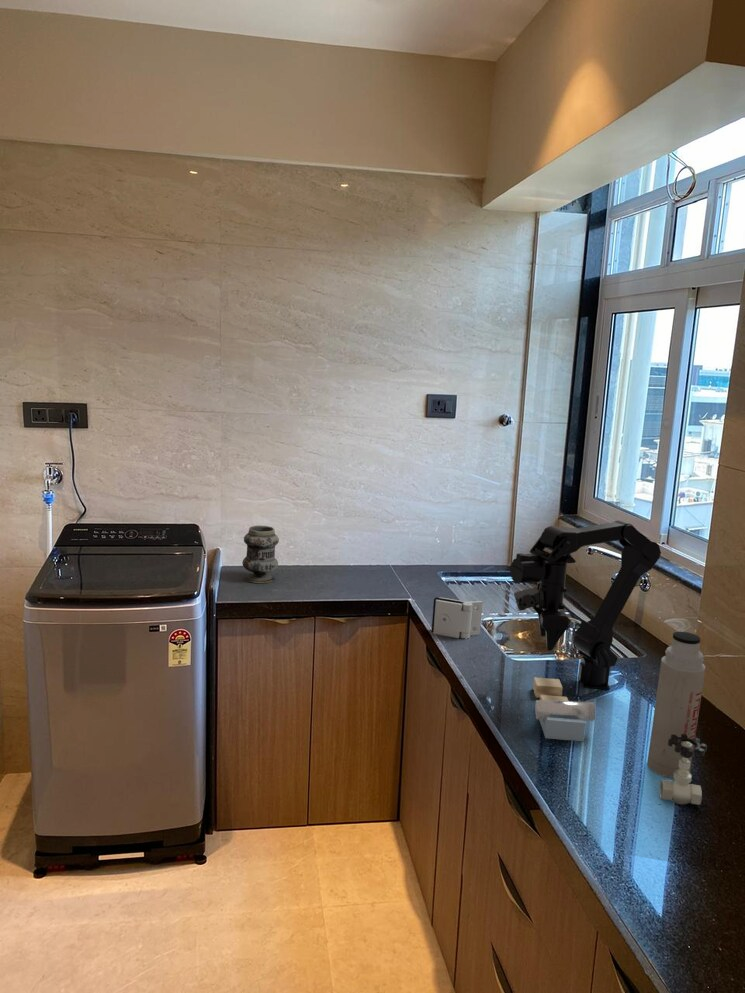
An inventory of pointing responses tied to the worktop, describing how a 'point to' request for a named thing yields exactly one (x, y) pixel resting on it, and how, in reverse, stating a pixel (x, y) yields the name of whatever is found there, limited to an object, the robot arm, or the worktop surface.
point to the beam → (548, 689)
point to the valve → (683, 772)
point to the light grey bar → (565, 710)
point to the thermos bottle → (676, 701)
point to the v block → (563, 728)
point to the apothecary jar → (260, 553)
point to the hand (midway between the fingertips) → (546, 643)
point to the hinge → (456, 617)
